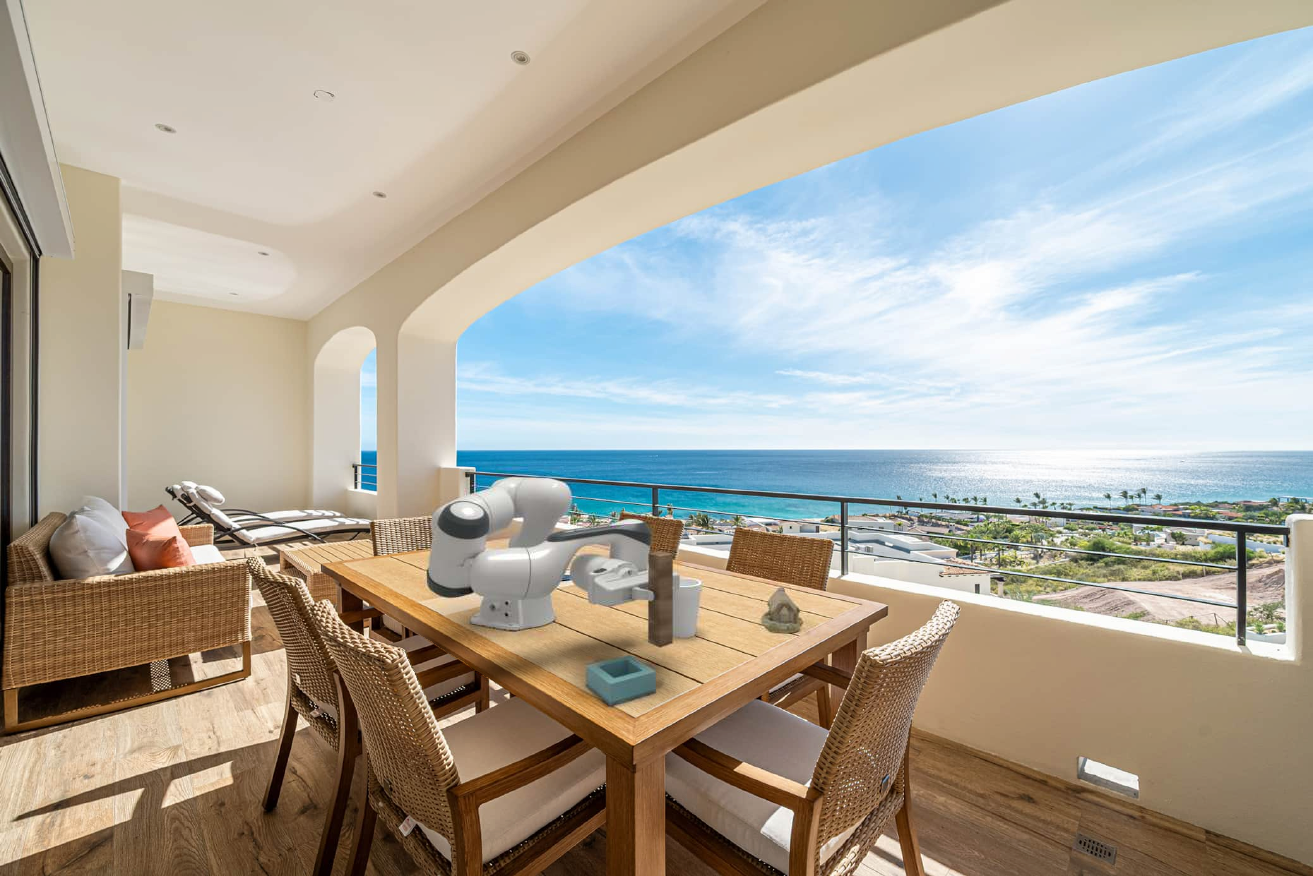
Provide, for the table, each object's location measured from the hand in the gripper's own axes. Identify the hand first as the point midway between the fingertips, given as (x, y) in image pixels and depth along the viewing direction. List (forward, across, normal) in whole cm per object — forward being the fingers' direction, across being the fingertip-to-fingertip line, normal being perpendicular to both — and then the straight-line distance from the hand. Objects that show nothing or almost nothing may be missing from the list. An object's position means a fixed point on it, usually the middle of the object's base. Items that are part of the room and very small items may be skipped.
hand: (663, 594), depth 107 cm
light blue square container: (-4, +8, -18) cm, 20 cm away
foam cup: (-18, -24, -18) cm, 35 cm away
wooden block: (-1, 0, -10) cm, 10 cm away
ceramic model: (-5, -48, -18) cm, 52 cm away
